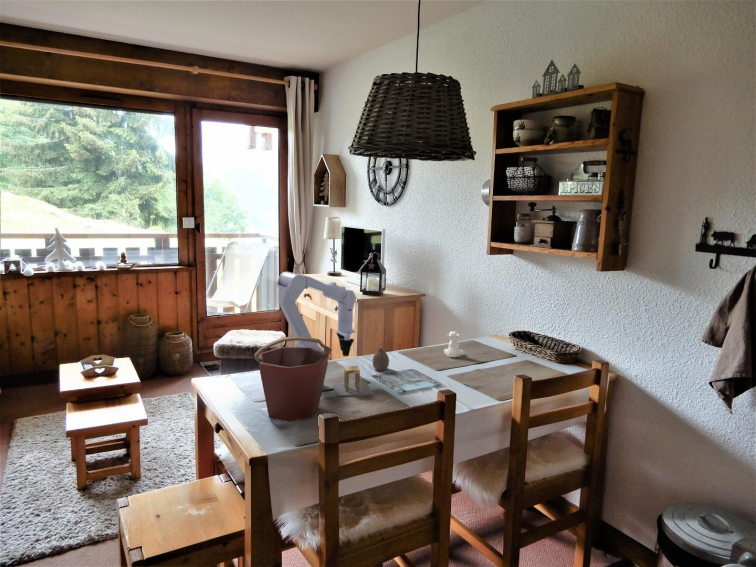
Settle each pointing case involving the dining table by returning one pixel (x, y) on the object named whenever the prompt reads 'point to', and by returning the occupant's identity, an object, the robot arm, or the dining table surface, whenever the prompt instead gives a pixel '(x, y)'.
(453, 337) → the seated beast figurine
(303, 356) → the bucket
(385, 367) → the vase
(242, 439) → the dining table surface
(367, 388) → the mat
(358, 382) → the stool
